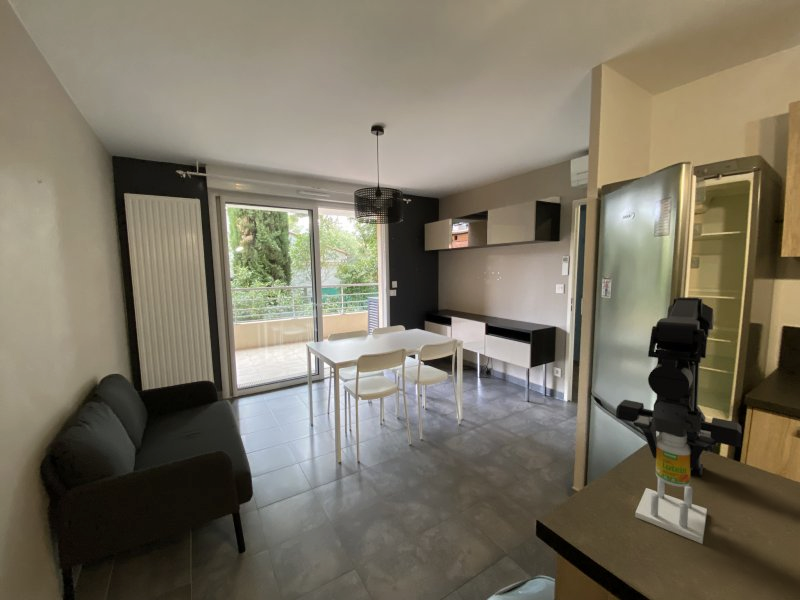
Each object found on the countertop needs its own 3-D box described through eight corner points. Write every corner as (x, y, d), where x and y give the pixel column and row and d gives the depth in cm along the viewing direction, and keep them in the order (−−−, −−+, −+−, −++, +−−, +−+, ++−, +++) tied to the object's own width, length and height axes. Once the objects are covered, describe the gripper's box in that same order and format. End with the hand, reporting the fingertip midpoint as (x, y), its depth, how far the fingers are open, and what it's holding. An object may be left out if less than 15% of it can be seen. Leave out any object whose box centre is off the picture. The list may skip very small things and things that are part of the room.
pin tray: (646, 492, 75) (646, 470, 75) (706, 513, 68) (707, 489, 68) (635, 516, 68) (635, 492, 67) (702, 543, 60) (703, 517, 60)
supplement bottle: (658, 483, 66) (659, 435, 66) (653, 469, 71) (654, 424, 71) (693, 490, 64) (695, 440, 63) (685, 476, 69) (687, 429, 68)
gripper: (609, 385, 67) (608, 461, 68) (743, 409, 54) (739, 503, 55) (623, 373, 75) (621, 441, 76) (742, 392, 62) (739, 474, 63)
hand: (672, 462), depth 67 cm, fingers closed on supplement bottle, 5 cm apart
